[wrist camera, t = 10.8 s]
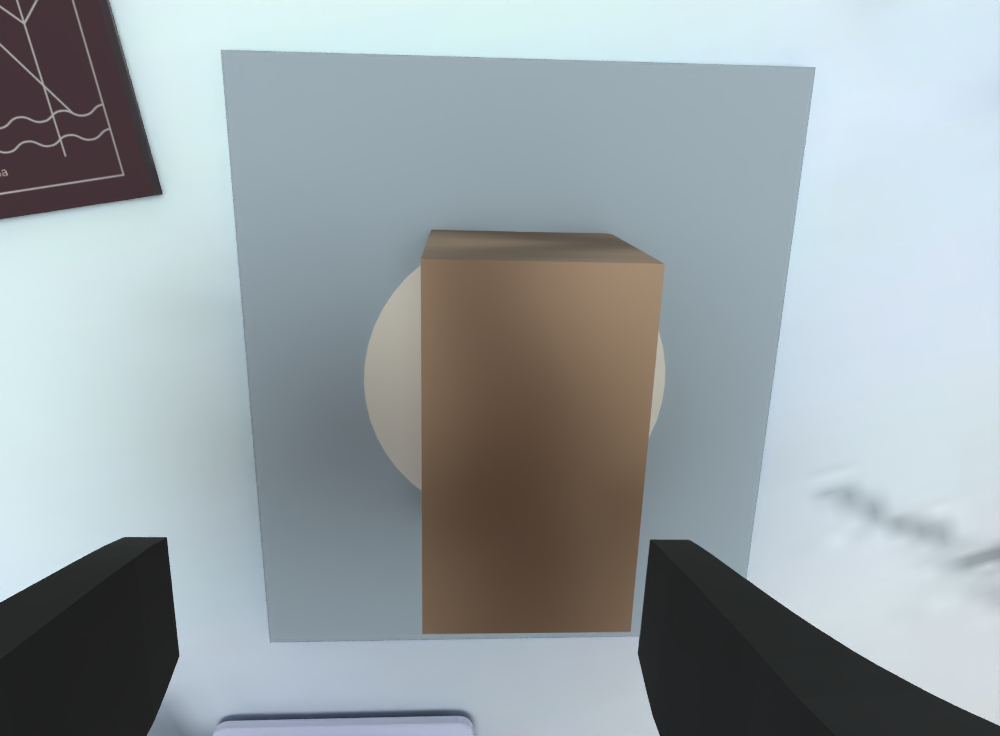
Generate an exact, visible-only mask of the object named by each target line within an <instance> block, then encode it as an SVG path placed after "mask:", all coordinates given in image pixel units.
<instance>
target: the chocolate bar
mask: <svg viewBox="0 0 1000 736" xmlns="http://www.w3.org/2000/svg"><path fill="white" fill-rule="evenodd" d="M160 194H162V190H161V187H160V183H159V179H158V176H157V172H156V169H155V165H154V161H153V158H152V154H151V151H150V147H149V143H148V140H147V136H146V133H145V129H144V125H143V122H142V118H141V115H140V111H139V107H138V104H137V100H136V97H135V93H134V89H133V86H132V82H131V79H130V75H129V71H128V68H127V64H126V61H125V57H124V53H123V50H122V46H121V43H120V39H119V35H118V32H117V28H116V25H115V21H114V17H113V14H112V10H111V7H110V3H109V0H0V219H4V218H11V217H17V216H24V215H30V214H37V213H43V212H50V211H56V210H63V209H69V208H76V207H82V206H89V205H95V204H102V203H108V202H115V201H121V200H128V199H134V198H140V197H147V196H153V195H160Z"/></svg>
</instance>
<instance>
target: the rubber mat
mask: <svg viewBox="0 0 1000 736" xmlns="http://www.w3.org/2000/svg"><path fill="white" fill-rule="evenodd" d="M221 58H222V70H223V82H224V94H225V106H226V118H227V130H228V142H229V154H230V166H231V178H232V190H233V203H234V215H235V227H236V239H237V251H238V263H239V275H240V287H241V299H242V311H243V323H244V335H245V347H246V360H247V372H248V384H249V396H250V408H251V420H252V432H253V444H254V456H255V468H256V480H257V492H258V504H259V517H260V529H261V541H262V553H263V565H264V577H265V589H266V601H267V613H268V625H269V637H270V642H322V641H383V640H443V639H504V638H565V637H626V636H640V629H641V620H642V610H643V601H644V591H645V582H646V572H647V563H648V553H649V544H650V539H658V540H691V541H692V542H694V543H696V544H697V545H699V546H700V547H702V548H703V549H705V550H706V551H708V552H709V553H711V554H712V555H714V556H715V557H716V558H718V559H719V560H721V561H722V562H723V563H725V564H726V565H727V566H729V567H730V568H732V569H733V570H734V571H736V572H737V573H738V574H740V575H741V576H742V577H744V578H745V579H746V575H747V568H748V561H749V553H750V546H751V539H752V531H753V524H754V517H755V509H756V502H757V495H758V487H759V480H760V472H761V465H762V458H763V450H764V443H765V436H766V428H767V421H768V414H769V406H770V399H771V392H772V384H773V377H774V370H775V362H776V355H777V348H778V340H779V333H780V325H781V318H782V311H783V303H784V296H785V289H786V281H787V274H788V267H789V259H790V252H791V245H792V237H793V230H794V223H795V215H796V208H797V200H798V193H799V186H800V178H801V171H802V164H803V156H804V149H805V142H806V134H807V127H808V120H809V112H810V105H811V98H812V90H813V83H814V75H815V68H816V67H786V66H752V65H717V64H683V63H649V62H615V61H581V60H547V59H513V58H479V57H445V56H411V55H376V54H342V53H308V52H274V51H240V50H221ZM431 230H467V231H513V232H558V233H603V234H613V235H614V236H616V237H618V238H620V239H621V240H623V241H625V242H627V243H629V244H630V245H632V246H634V247H636V248H638V249H639V250H641V251H643V252H645V253H646V254H648V255H650V256H652V257H654V258H655V259H657V260H659V261H661V262H663V263H664V264H665V267H664V278H663V289H662V300H661V310H660V321H659V332H658V343H657V354H656V364H655V375H654V386H653V397H652V407H651V418H650V429H649V440H648V450H647V461H646V472H645V483H644V493H643V504H642V515H641V526H640V536H639V547H638V558H637V569H636V579H635V590H634V601H633V612H632V623H631V632H586V633H488V634H422V444H421V257H422V254H423V251H424V249H425V246H426V243H427V240H428V237H429V235H430V232H431Z"/></svg>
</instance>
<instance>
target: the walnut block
mask: <svg viewBox="0 0 1000 736" xmlns="http://www.w3.org/2000/svg"><path fill="white" fill-rule="evenodd" d="M664 267H665V264H664V263H663V262H661V261H659V260H657V259H655V258H654V257H652V256H650V255H648V254H646V253H645V252H643V251H641V250H639V249H638V248H636V247H634V246H632V245H630V244H629V243H627V242H625V241H623V240H621V239H620V238H618V237H616V236H614V235H613V234H603V233H558V232H513V231H467V230H431V232H430V235H429V237H428V240H427V243H426V246H425V249H424V251H423V254H422V257H421V444H422V634H488V633H586V632H631V623H632V612H633V601H634V590H635V579H636V569H637V558H638V547H639V536H640V526H641V515H642V504H643V493H644V483H645V472H646V461H647V450H648V440H649V429H650V418H651V407H652V397H653V386H654V375H655V364H656V354H657V343H658V332H659V321H660V310H661V300H662V289H663V278H664Z"/></svg>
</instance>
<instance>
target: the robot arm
mask: <svg viewBox="0 0 1000 736" xmlns="http://www.w3.org/2000/svg"><path fill="white" fill-rule="evenodd" d="M638 656H639V660H640V665H641V669H642V674H643V678H644V682H645V687H646V691H647V695H648V699H649V703H650V707H651V711H652V715H653V718H654V720H655V723H656V726H657V729H658V731H659V734H660V736H1000V726H999V725H996V724H994V723H992V722H990V721H988V720H985V719H983V718H981V717H979V716H976V715H974V714H972V713H970V712H968V711H965V710H963V709H961V708H959V707H957V706H955V705H953V704H951V703H949V702H947V701H945V700H943V699H940V698H938V697H936V696H934V695H932V694H930V693H928V692H926V691H925V690H923V689H921V688H919V687H917V686H915V685H913V684H911V683H910V682H908V681H906V680H904V679H902V678H900V677H898V676H897V675H895V674H893V673H891V672H889V671H887V670H885V669H884V668H882V667H880V666H878V665H876V664H875V663H873V662H871V661H869V660H868V659H866V658H864V657H862V656H861V655H859V654H857V653H856V652H854V651H852V650H851V649H849V648H848V647H846V646H844V645H843V644H841V643H840V642H838V641H836V640H835V639H833V638H832V637H830V636H828V635H827V634H825V633H824V632H822V631H821V630H819V629H817V628H816V627H814V626H813V625H811V624H810V623H808V622H807V621H805V620H804V619H802V618H801V617H799V616H798V615H796V614H795V613H793V612H792V611H790V610H789V609H787V608H786V607H785V606H783V605H782V604H780V603H779V602H777V601H776V600H775V599H773V598H772V597H770V596H769V595H767V594H766V593H765V592H763V591H762V590H760V589H759V588H758V587H756V586H755V585H753V584H752V583H751V582H749V581H748V580H747V579H745V578H744V577H742V576H741V575H740V574H738V573H737V572H736V571H734V570H733V569H732V568H730V567H729V566H727V565H726V564H725V563H723V562H722V561H721V560H719V559H718V558H716V557H715V556H714V555H712V554H711V553H709V552H708V551H706V550H705V549H703V548H702V547H700V546H699V545H697V544H696V543H694V542H692V541H691V540H658V539H650V544H649V553H648V563H647V572H646V582H645V591H644V601H643V610H642V620H641V629H640V638H639V648H638ZM178 658H179V648H178V639H177V629H176V620H175V611H174V601H173V592H172V582H171V573H170V564H169V554H168V545H167V537H124V538H121V539H119V540H117V541H114V542H112V543H110V544H108V545H106V546H104V547H102V548H100V549H98V550H96V551H94V552H92V553H90V554H88V555H86V556H84V557H82V558H81V559H79V560H77V561H75V562H73V563H71V564H70V565H68V566H66V567H64V568H62V569H60V570H59V571H57V572H55V573H53V574H51V575H50V576H48V577H46V578H44V579H42V580H41V581H39V582H37V583H35V584H33V585H31V586H30V587H28V588H26V589H24V590H22V591H20V592H19V593H17V594H15V595H13V596H11V597H10V598H8V599H6V600H4V601H2V602H0V736H147V734H148V732H149V730H150V728H151V726H152V724H153V722H154V720H155V718H156V715H157V713H158V710H159V708H160V705H161V703H162V701H163V698H164V696H165V693H166V691H167V688H168V685H169V682H170V680H171V677H172V674H173V672H174V669H175V666H176V664H177V661H178ZM212 736H474V728H473V724H472V722H471V721H470V720H469V719H467V718H466V717H463V716H423V717H378V718H334V719H289V720H245V721H226V722H222V723H220V724H219V725H217V727H216V728H215V730H214V732H213V735H212Z"/></svg>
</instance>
